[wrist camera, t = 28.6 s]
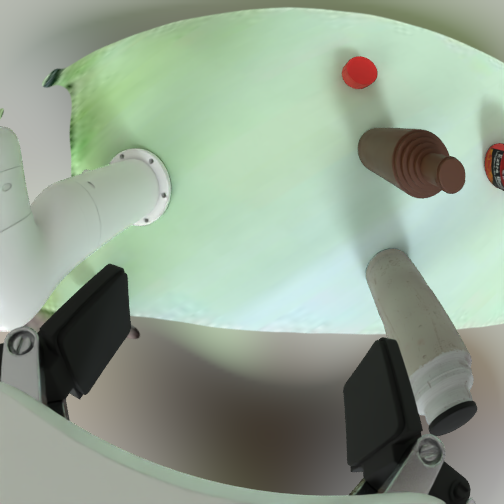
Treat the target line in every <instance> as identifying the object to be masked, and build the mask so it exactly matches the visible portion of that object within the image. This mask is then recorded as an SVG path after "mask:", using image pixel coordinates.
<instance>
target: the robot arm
mask: <svg viewBox="0 0 504 504" xmlns="http://www.w3.org/2000/svg"><path fill="white" fill-rule="evenodd" d="M153 160H154V162H153ZM165 193H166V194H165ZM170 197H171V182H170V177H169V174H168V171H167V169H166V167H165V166H164V164H163V162H162V161H161V160H160V159H159V158H158V157H157V156H156V155H154V154H153V153H152V152H150V151H148V150H145V149H141V148H133V149H127V150H125V151H122V152H120V153H119V154H117V155H116V156H115V157H114V158H113V159H112V160H111V162H110V163H109V165H107V166H103V167H100V168H97V169H94V170H87V169H86V170H84V171H83V172H82V174H79V175H76V176H73V177H70V178H67V179H65V180H61V181H58V182H56V183H54V184H52V185H50V186H48V187H47V188H45V189H44V190H43V191H42V192H41V193H40V194H39V195H38V196H37V197H36V199H35V200H34V202H33V203H32V204H31V206H30V203H29V198H28V193H27V188H26V183H25V176H24V170H23V163H22V156H21V150H20V145H19V141H18V138H17V136H16V134H15V133H14V132H13V131H12V130H11V129H9V128H7V127H1V126H0V331H11V332H10V333H9V334H8V335H7V336H6V338H5V341H4V343H2V344H0V504H476V503H475V502H474V500H473V499H472V498H470V499H469V496H470V485H469V483H468V481H467V480H466V479H465V478H464V477H463V476H462V475H460V474H459V473H458V472H457V471H455V470H454V469H453V468H452V467H451V466H449V465H448V464H447V463H446V462H444V459H445V448H444V445H443V443H442V442H441V440H440V439H439V438H438V437H436V436H434V435H431V434H426V435H423V436H421V431H422V425H421V421H420V417H419V413H418V409H417V405H416V401H415V397H414V394H413V390H412V387H411V383H410V380H409V377H408V373H407V370H406V367H405V364H404V361H403V357H402V354H401V351H400V348H399V346H398V343H397V341H396V340H395V339H389V338H380V339H379V340H377V341H375V342H374V344H373V345H372V347H371V348H370V350H369V351H368V353H367V354H366V356H365V357H364V358H363V360H362V361H361V363H360V364H359V366H358V367H357V368H356V370H355V371H354V373H353V374H352V376H351V377H350V378H349V379H348V381H347V382H346V384H345V386H344V390H343V393H344V406H345V419H346V439H347V463H348V465H350V466H351V472H363V476H364V478H363V479H362V480H361V481H360V483H359V484H358V485H357V486H356V487H355V489H354V490H353V491H352V492H351V493H350V494H349V495H348V496H314V495H295V494H284V493H275V492H267V491H260V490H253V489H247V488H241V487H236V486H231V485H227V484H222V483H218V482H213V481H209V480H206V479H202V478H199V477H195V476H192V475H188V474H185V473H182V472H179V471H176V470H173V469H170V468H167V467H164V466H161V465H159V464H156V463H153V462H151V461H148V460H146V459H143V458H141V457H138V456H136V455H134V454H131V453H129V452H127V451H124V450H122V449H120V448H118V447H116V446H114V445H112V444H110V443H108V442H106V441H104V440H102V439H100V438H99V437H97V436H95V435H93V434H91V433H89V432H87V431H86V430H84V429H82V428H80V427H79V426H77V425H75V424H73V423H72V422H70V421H69V415H68V410H67V404H66V397H67V396H68V394H69V393H70V394H72V395H73V396H75V397H77V398H78V399H80V398H81V397H82V395H83V394H84V395H86V394H87V393H88V392H89V391H90V390H91V388H92V387H93V385H94V384H95V382H96V380H97V379H98V377H99V376H100V375H101V373H102V371H103V370H104V369H105V367H106V365H107V364H108V363H109V361H110V360H111V358H112V357H113V356H114V354H115V353H116V351H117V350H118V348H119V347H120V345H121V344H122V343H123V341H124V340H125V338H126V337H127V336H128V334H129V332H130V329H131V321H130V310H129V296H128V277H127V274H126V273H124V269H123V268H121V267H118V266H115V265H112V264H108V265H106V266H105V267H104V268H103V269H102V270H101V271H100V272H98V273H97V274H96V275H95V276H94V277H93V278H92V279H91V280H89V281H88V282H87V283H86V284H85V285H84V286H83V287H82V288H81V289H80V290H78V291H77V292H76V293H75V294H74V295H73V296H72V297H71V298H70V299H69V300H68V301H67V302H66V303H65V304H64V305H63V306H62V307H61V308H59V309H58V310H57V311H56V312H55V313H54V314H53V315H52V316H51V317H50V318H49V319H48V320H47V321H46V322H45V323H44V324H43V325H42V326H41V328H40V331H39V332H38V333H36V331H35V330H33V329H32V328H29V327H22V326H24V325H25V324H26V323H28V322H29V321H30V320H31V319H32V318H33V317H34V316H35V315H36V314H37V313H38V312H39V310H40V309H41V308H42V306H43V305H44V304H45V302H46V301H47V299H48V298H49V297H50V295H51V294H52V292H53V291H54V289H55V288H56V287H57V286H58V284H59V283H60V282H61V281H62V280H63V279H64V277H65V276H66V275H67V274H68V273H69V272H70V271H72V270H73V269H74V268H75V267H76V266H77V265H78V264H80V263H81V262H82V261H83V260H85V259H86V258H87V257H88V256H90V255H91V254H93V253H94V252H95V251H97V250H98V249H99V248H101V247H102V246H103V245H105V244H106V243H107V242H109V241H110V240H111V239H113V238H114V237H116V236H117V235H118V234H120V233H121V232H123V231H124V230H125V229H127V228H128V227H130V226H131V225H135V226H144V225H148V224H151V223H152V222H154V221H156V220H157V219H158V218H160V217H161V216H162V214H163V213H164V212H165V210H166V209H167V207H168V204H169V202H170Z"/></svg>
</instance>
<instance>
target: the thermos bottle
mask: <svg viewBox="0 0 504 504" xmlns="http://www.w3.org/2000/svg"><path fill="white" fill-rule="evenodd" d="M366 280H367V283H368V285H369V288H370V291H371V293H372V296H373V299H374V301H375V304H376V307H377V310H378V312H379V315H380V317H381V319H382V321H383V324H384V327H385V332H386V335H387V338H389V339H395V340H396V341H397V343H398V346H399V348H400V351H401V354H402V357H403V361H404V364H405V367H406V370H407V373H408V377H409V380H410V383H411V387H412V390H413V394H414V397H415V401H416V405H417V409H418V413H419V414H420V415H425V417H426V421H427V423H428V424H429V432H430V434H431V435H434V436H440V435H444V434H447V433H450V432H452V431H454V430H456V429H457V428H459V427H461V426H462V425H464V424H465V423H467V422H468V421H469V420H470V419H471V418H472V417H473V416H474V415H475V413H476V411H477V406H476V403H475V402H474V401H472V396H471V393H470V391H469V390H470V389H471V387H472V385H473V376H472V371H471V368H470V367H471V362H472V360H471V356H470V354H469V352H468V350H467V348H466V346H465V345H464V342H463V341H462V339H461V337H460V335H459V333H458V332H457V330H456V328H455V327H454V325H453V323H452V321H451V320H450V318H449V316H448V315H447V313H446V312H445V310H444V308H443V307H442V305H441V304H440V302H439V300H438V299H437V297H436V296H435V294H434V293H433V292H432V290H431V289H430V287H429V286H428V285H427V283H426V282H425V280H424V278H423V277H422V275H421V274H420V272H419V271H418V270H417V268H416V267H415V265H414V264H413V263H412V261H411V260H410V259H409V257H408V256H407V255H406V253H404V252H403V251H401V250H399V249H386V250H383V251H381V252H379V253H377V254H376V255H375V256H374V257H373V258H372V259H371V260H370V262H369V264H368V266H367V269H366Z"/></svg>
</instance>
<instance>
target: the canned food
mask: <svg viewBox="0 0 504 504" xmlns="http://www.w3.org/2000/svg"><path fill="white" fill-rule="evenodd" d="M485 171H486V175H487V177H488V179H489V181H490V182H491V183H492V184H493V185H494V186H495V187H497V188H499V189H501V190H503V191H504V144H501V143H498V144H494V145H492V146H491V147H490V148H489V149H488V151H487V153H486V157H485Z"/></svg>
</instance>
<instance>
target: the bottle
mask: <svg viewBox="0 0 504 504" xmlns="http://www.w3.org/2000/svg"><path fill="white" fill-rule="evenodd" d="M358 155H359V158H360V160H361V162H362V163H363V165H364V166H365V167H366V168H367V169H369V170H370V171H372V172H374V173H375V174H377V175H379V176H380V177H382V178H384V179H385V180H387V181H388V182H390V183H392V184H393V185H395V186H396V187H398V188H399V189H401V190H402V191H404V192H405V193H407V194H408V195H410V196H412V197H416V198H428V197H431V196H434V195H436V194H437V193H439V192H440V191H441V190H443V191H444V192H446V193H450V194H453V193H457V192H458V191H460V190H461V188H462V187H463V185H464V183H465V170H464V167H463V165H462V164H461V162H460V161H459V160H457V159H456V158H455V157H451V156H449V153H448V151H447V149H446V147H445V145H444V144H443V142H442V141H441V140H440V139H439V138H438V137H437V136H436V135H435V134H433V133H431V132H429V131H426V130H421V129H403V128H373V129H370V130H368V131H366V132H365V133H364V134H363V135H362V137H361V138H360V140H359V144H358Z"/></svg>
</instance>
